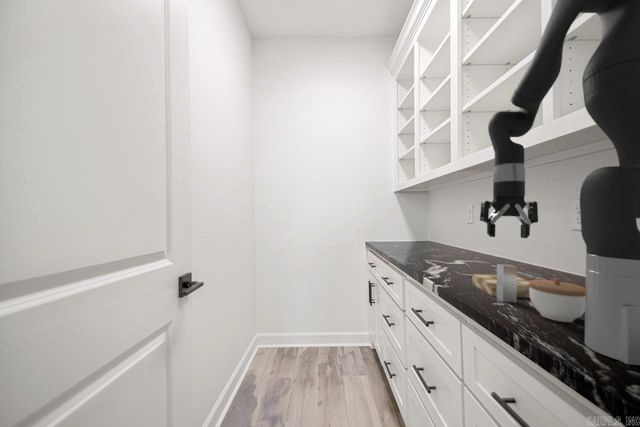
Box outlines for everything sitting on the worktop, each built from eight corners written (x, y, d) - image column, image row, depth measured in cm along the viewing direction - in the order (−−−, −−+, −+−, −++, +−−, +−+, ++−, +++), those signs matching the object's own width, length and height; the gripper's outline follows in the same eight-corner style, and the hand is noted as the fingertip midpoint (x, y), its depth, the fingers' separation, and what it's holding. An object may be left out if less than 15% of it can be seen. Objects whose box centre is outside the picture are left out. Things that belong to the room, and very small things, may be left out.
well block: (542, 298, 80) (542, 286, 80) (491, 295, 82) (492, 283, 82) (514, 285, 94) (514, 275, 94) (471, 283, 96) (472, 273, 96)
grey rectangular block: (516, 302, 76) (517, 266, 76) (503, 301, 76) (503, 266, 76) (509, 298, 79) (510, 264, 79) (496, 297, 79) (497, 263, 79)
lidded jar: (533, 320, 63) (534, 280, 63) (524, 306, 72) (524, 271, 72) (596, 330, 58) (597, 286, 58) (577, 314, 67) (578, 276, 67)
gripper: (488, 179, 75) (487, 237, 75) (545, 179, 73) (544, 239, 73) (476, 182, 82) (475, 235, 82) (527, 182, 80) (526, 237, 80)
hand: (508, 237), depth 77 cm, fingers open, 8 cm apart
